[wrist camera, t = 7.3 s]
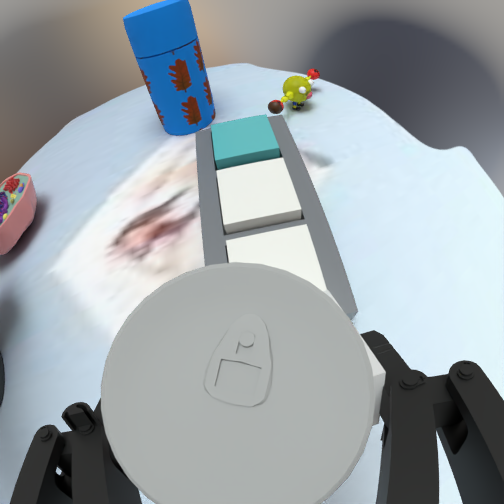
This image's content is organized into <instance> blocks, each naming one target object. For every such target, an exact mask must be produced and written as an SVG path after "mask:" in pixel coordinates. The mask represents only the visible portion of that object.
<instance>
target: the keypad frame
mask: <svg viewBox="0 0 504 504" xmlns="http://www.w3.org/2000/svg"><path fill="white" fill-rule="evenodd" d="M267 118H268V120H269V123H270V125H271V128H272V130H273V133H274V135H275V138H276V141H277V143H278V146H279V151H280V158H283V159H284V162H285V164H286V167H287V170H288V172H289V175H290V178H291V181H292V183H293V186H294V189H295V192H296V195H297V198H298V200H299V203H300V206H301V220H298V221H293V222H288V223H283V224H278V225H273V226H268V227H263V228H258V229H253V230H249V231H244V232H239V233H234V234H229V235H227V233H226V230H225V227H224V224H223V216H222V209H221V202H220V194H219V187H218V179H217V170H218V169H217V165H216V162H215V155H214V147H213V139H212V130H211V128H210V129H206V130H202V131H197V132H195V133H196V154H197V172H198V187H199V202H200V215H201V227H202V238H203V249H204V259H205V266H208V265H214V264H223V263H229V258H228V252H227V245H226V240H231V239H236V238H240V237H245V236H250V235H255V234H260V233H265V232H270V231H275V230H279V229H284V228H289V227H294V226H299V225H305V224H307V227H308V230H309V233H310V236H311V239H312V242H313V246H314V249H315V252H316V255H317V258H318V261H319V265H320V268H321V271H322V275H323V278H324V281H325V285H326V288H327V290H329V292H330V293H331V295H332V296H333V297H334V299H335V300H336V301H337V303H338V304H339V306H340V307H341V308H342V310H343V311H344V313H345V314H346V315H347V316H348V317H349V318H350V320H352V319H353V317H354V316H355V315H356V313H357V312H358V310H357V306H356V303H355V300H354V296H353V293H352V290H351V287H350V284H349V281H348V278H347V275H346V272H345V269H344V266H343V263H342V260H341V257H340V254H339V251H338V248H337V246H336V243H335V240H334V237H333V235H332V232H331V229H330V227H329V224H328V221H327V219H326V216H325V213H324V211H323V208H322V206H321V203H320V201H319V198H318V196H317V193H316V191H315V188H314V186H313V183H312V181H311V178H310V176H309V174H308V171H307V169H306V167H305V164H304V162H303V160H302V157H301V155H300V153H299V151H298V148H297V146H296V144H295V142H294V139H293V137H292V135H291V133H290V131H289V129H288V127H287V124H286V122H285V120H284V118H283V116H282V115H278V116H272V117H267ZM276 159H277V158H276ZM271 160H272V159H271ZM265 161H266V160H265ZM260 162H261V161H260ZM255 163H256V162H255ZM249 164H251V163H249ZM244 165H246V164H244ZM240 166H241V165H240ZM235 167H236V166H235ZM230 168H231V167H230ZM225 169H226V168H225ZM221 170H222V169H221Z"/></svg>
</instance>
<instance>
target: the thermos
mask: <svg viewBox="0 0 504 504" xmlns="http://www.w3.org/2000/svg"><path fill="white" fill-rule="evenodd" d="M123 20H124V25H125V30H126V32H127V35H128V38H129V41H130V44H131V46H132V49H133V52H134V54H135V57H136V60H137V62H138V65H139V68H140V70H141V73H142V76H143V78H144V81H145V84H146V86H147V89H148V91H149V94H150V96H151V99H152V102H153V104H154V107H155V109H156V112H157V114H158V117H159V119H160V121H161V123H162V125H163V127H164V129H165V131H166V132H167V133H169V134H171V135H176V136H178V135H187V134H191V133H194V132H197V131H199V130H201V129H203V128H205V127H206V126H207V125H209V124H210V123H211V122H212V120H213V119H214V118H215V109H214V103H213V97H212V93H211V89H210V85H209V81H208V77H207V73H206V68H205V64H204V60H203V56H202V52H201V48H200V44H199V40H198V36H197V31H196V27H195V23H194V19H193V15H192V11H191V6H190V4H189V2H188V0H166V1H162V2H159V3H155V4H153V5H150V6H147V7H144V8H142V9H139V10H137V11H135V12H132V13H130V14H128V15H127V16H125V17H124V18H123Z"/></svg>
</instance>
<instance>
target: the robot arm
mask: <svg viewBox="0 0 504 504" xmlns="http://www.w3.org/2000/svg"><path fill="white" fill-rule="evenodd" d="M323 292H324V293H325V294H327V295H328V296H329V297H331V298H332V299H333V300H334V302H335V303H336V304H337V305H338V306H339V304H338V303H337V301H336V300H335V299H334V297H333V296H332V295H331V293H330V292H329V290H325V291H323ZM339 307H340V306H339ZM340 308H341V307H340ZM341 309H342V308H341ZM357 332H358V331H357ZM358 334H359V332H358ZM359 335H360V337H361V339H362V340H363V342H364V345H365V348H366V351H367V354H368V357H369V360H370V363H371V366H372V371H373V379H374V388H375V406H374V415H373V424H372V426H373V425H376V424H378V423H379V417H380V416H381V418H382V419H383V421H384V427H383V432H382V436H381V440H382V455H381V466H380V476H379V484H378V492H377V499H376V504H439V464H438V448H437V436H436V431H437V433H438V436H439V438H440V441H441V443H442V446H443V448H444V451H445V453H446V456H447V458H448V461H449V464H450V467H451V469H452V472H453V475H454V478H455V481H456V484H457V487H458V490H459V493H460V496H461V499H462V502H463V504H504V400H503V399H502V397H501V396H500V394H499V393H498V391H497V390H496V389H495V387H494V386H493V384H492V383H491V381H490V380H489V379H488V377H487V376H486V374H485V373H484V372H483V370H482V369H481V368H480V367H479V366H478V365H477V364H476V363H474V362H472V361H465V360H464V361H459V362H457V363H455V364H453V365H452V366H451V368H450V370H449V373H448V374H445V375H440V376H434V377H427V376H426V375H425V374H424V373H422V372H420V371H417V370H411V369H410V368H409V367H408V365H407V364H406V363H405V362H404V360H403V359H402V358H401V356H400V355H399V354H398V353H397V351H396V350H395V349H394V348H393V346H392V345H391V344H389V342H388V340H387V339H386V338H385V337H384V335H382V334H380V333H378V332H376V331H374V330H373V331H370V332H366V333H363V334H359ZM3 391H4V368H3V361H2V356H1V353H0V404H1V401H2V397H3ZM61 417H62V418H63V420H64V421H65V422H66V424H67V425H68V426H69V427H70V429H71V430H72V431H69V432H62V433H61V432H60V431H59V430H58V429H57V428H56V427H55V426H54V425H45V426H43V427H41V428H40V429H39V430H38V431H37V432H36V434H35V436H34V438H33V440H32V443H31V445H30V448H29V450H28V452H27V455H26V458H25V460H24V463H23V465H22V468H21V471H20V474H19V476H18V479H17V482H16V485H15V488H14V491H13V495H12V498H11V501H10V504H142V502H141V498H140V494H139V490H138V488H137V487H136V486H135V485H134V484H133V483H132V481H131V480H130V479H129V478H128V477H127V475H126V474H125V472H124V471H123V469H122V467H121V466H120V464H119V463H118V461H117V460H116V458H115V456H114V453H113V451H112V449H111V446H110V444H109V441H108V438H107V436H106V433H105V428H104V423H103V417H102V412H101V398H100V400H99V402H98V404H97V406H96V408H95V410H94V412H93V411H92V409H91V408H90V406H89V405H88V404H87V403H83V402H78V403H74V404H72V405H70V406H69V407H67V408H66V409H65V410H64V412H63V414H62V416H61ZM57 467H58V468H59V469H60V470H61V471H62V473H61V475H58V474H57V473H56V469H57Z"/></svg>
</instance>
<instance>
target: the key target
mask: <svg viewBox="0 0 504 504" xmlns="http://www.w3.org/2000/svg"><path fill="white" fill-rule="evenodd" d="M211 130H212V139H213V147H214V155H215V162H216V165H217V169H218V170H221V169H225V168H230V167H235V166H240V165H244V164H249V163H255V162H260V161H265V160H271V159H276V158H280V151H279V146H278V143H277V141H276V138H275V135H274V133H273V130H272V128H271V125H270V123H269V120H268V118H267V115H266V114H265V115H259V116H254V117H248V118H243V119H238V120H233V121H228V122H223V123H218V124H214V125H211Z"/></svg>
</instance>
